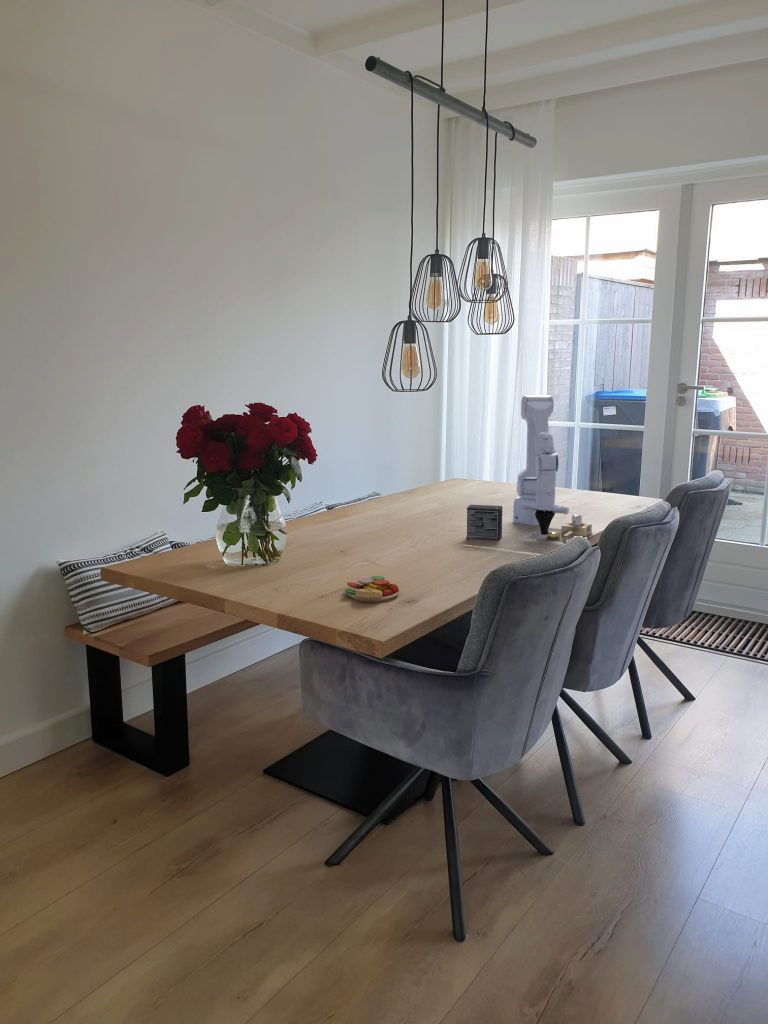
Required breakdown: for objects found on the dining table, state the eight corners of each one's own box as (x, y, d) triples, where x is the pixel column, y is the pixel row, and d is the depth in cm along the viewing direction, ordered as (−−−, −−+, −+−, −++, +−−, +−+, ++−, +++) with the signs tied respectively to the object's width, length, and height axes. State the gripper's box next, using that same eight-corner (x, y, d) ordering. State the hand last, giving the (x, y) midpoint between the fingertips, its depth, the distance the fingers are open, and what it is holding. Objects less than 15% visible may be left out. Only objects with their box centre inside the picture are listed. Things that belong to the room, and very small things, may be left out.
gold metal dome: (544, 538, 256) (545, 533, 256) (549, 536, 260) (549, 530, 259) (557, 540, 254) (557, 534, 254) (561, 537, 258) (561, 532, 257)
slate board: (526, 539, 258) (526, 537, 258) (544, 528, 272) (544, 527, 272) (573, 544, 250) (573, 543, 250) (589, 533, 265) (589, 532, 265)
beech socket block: (561, 534, 261) (561, 525, 261) (568, 530, 268) (568, 521, 267) (584, 537, 258) (585, 528, 257) (591, 532, 264) (591, 523, 264)
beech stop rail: (562, 541, 252) (563, 535, 252) (569, 537, 258) (569, 531, 257) (566, 542, 252) (566, 535, 251) (572, 537, 257) (573, 531, 257)
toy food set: (364, 607, 193) (364, 594, 192) (334, 594, 203) (334, 581, 203) (409, 597, 200) (409, 584, 200) (378, 584, 211) (378, 572, 210)
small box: (502, 537, 261) (503, 505, 259) (499, 542, 254) (500, 509, 252) (469, 535, 263) (470, 503, 261) (466, 540, 257) (466, 507, 255)
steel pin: (569, 534, 262) (570, 515, 261) (573, 532, 265) (574, 514, 263) (578, 535, 261) (579, 516, 259) (582, 533, 263) (583, 515, 262)
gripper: (519, 491, 256) (517, 534, 258) (564, 495, 249) (562, 539, 251) (527, 488, 262) (525, 529, 264) (571, 492, 255) (569, 534, 257)
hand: (544, 534), depth 258 cm, fingers closed
